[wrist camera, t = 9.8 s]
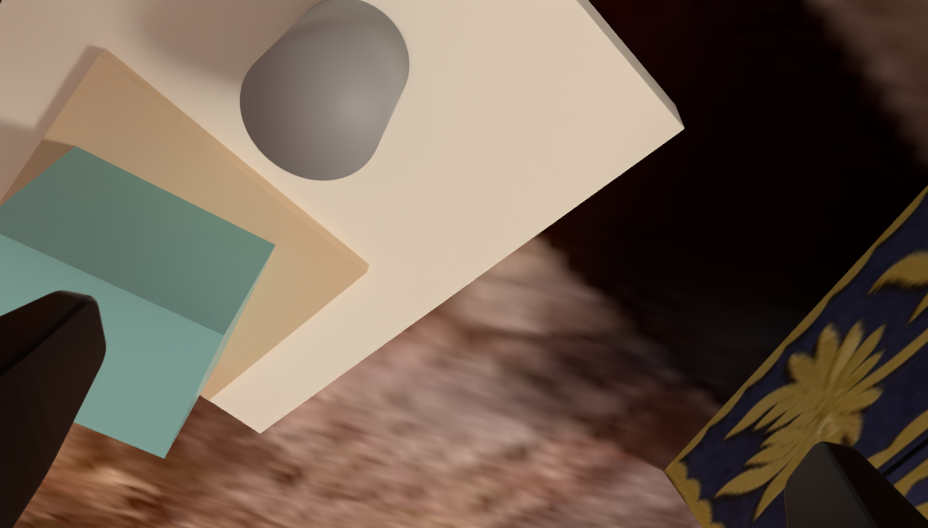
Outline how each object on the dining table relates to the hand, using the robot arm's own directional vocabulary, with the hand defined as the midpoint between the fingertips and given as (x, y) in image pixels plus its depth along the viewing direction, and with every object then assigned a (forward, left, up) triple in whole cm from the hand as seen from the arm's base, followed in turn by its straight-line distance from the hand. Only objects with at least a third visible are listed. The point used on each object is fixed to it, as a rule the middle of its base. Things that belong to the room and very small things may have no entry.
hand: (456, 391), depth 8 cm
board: (+7, -3, -12) cm, 14 cm away
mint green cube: (+12, -3, -10) cm, 16 cm away
